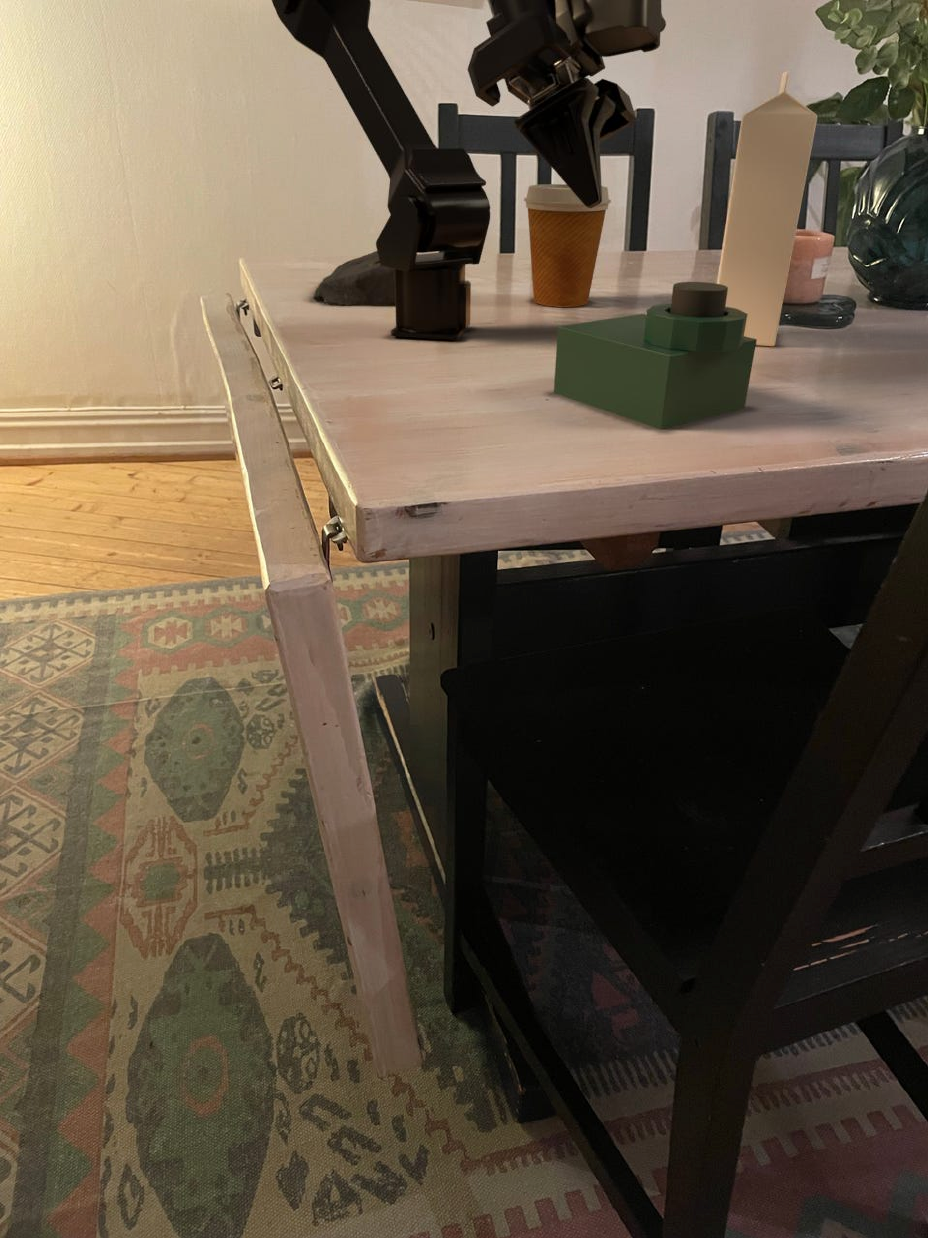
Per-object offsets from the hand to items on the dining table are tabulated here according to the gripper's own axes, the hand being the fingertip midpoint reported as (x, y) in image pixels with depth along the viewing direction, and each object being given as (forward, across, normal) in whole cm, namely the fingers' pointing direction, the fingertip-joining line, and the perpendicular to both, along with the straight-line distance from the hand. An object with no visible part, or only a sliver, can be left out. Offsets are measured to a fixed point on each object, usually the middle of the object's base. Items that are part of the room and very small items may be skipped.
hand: (594, 204), depth 64 cm
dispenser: (+15, -1, 0) cm, 15 cm away
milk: (+11, +24, -3) cm, 27 cm away
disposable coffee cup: (-2, +32, +16) cm, 36 cm away
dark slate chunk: (-12, +29, +35) cm, 47 cm away
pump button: (+11, -4, -5) cm, 13 cm away
